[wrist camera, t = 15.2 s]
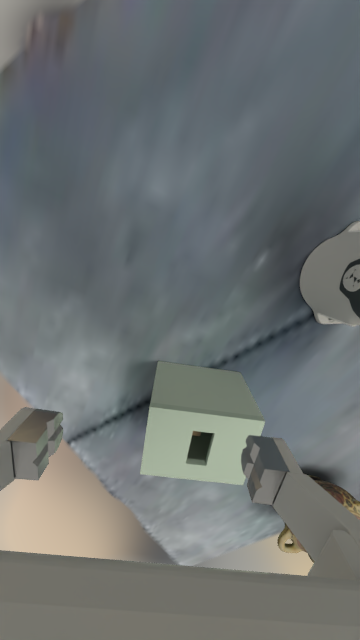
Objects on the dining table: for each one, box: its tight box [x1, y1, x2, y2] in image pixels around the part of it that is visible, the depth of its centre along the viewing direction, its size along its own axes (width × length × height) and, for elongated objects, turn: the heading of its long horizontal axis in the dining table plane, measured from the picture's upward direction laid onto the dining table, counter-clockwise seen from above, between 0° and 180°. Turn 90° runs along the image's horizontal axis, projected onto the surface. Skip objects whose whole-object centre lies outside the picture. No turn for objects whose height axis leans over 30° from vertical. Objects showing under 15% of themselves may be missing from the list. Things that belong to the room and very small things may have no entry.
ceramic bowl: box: [278, 475, 360, 563], centre depth 51 cm, size 24×18×15 cm
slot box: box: [140, 361, 265, 485], centre depth 41 cm, size 18×14×14 cm
